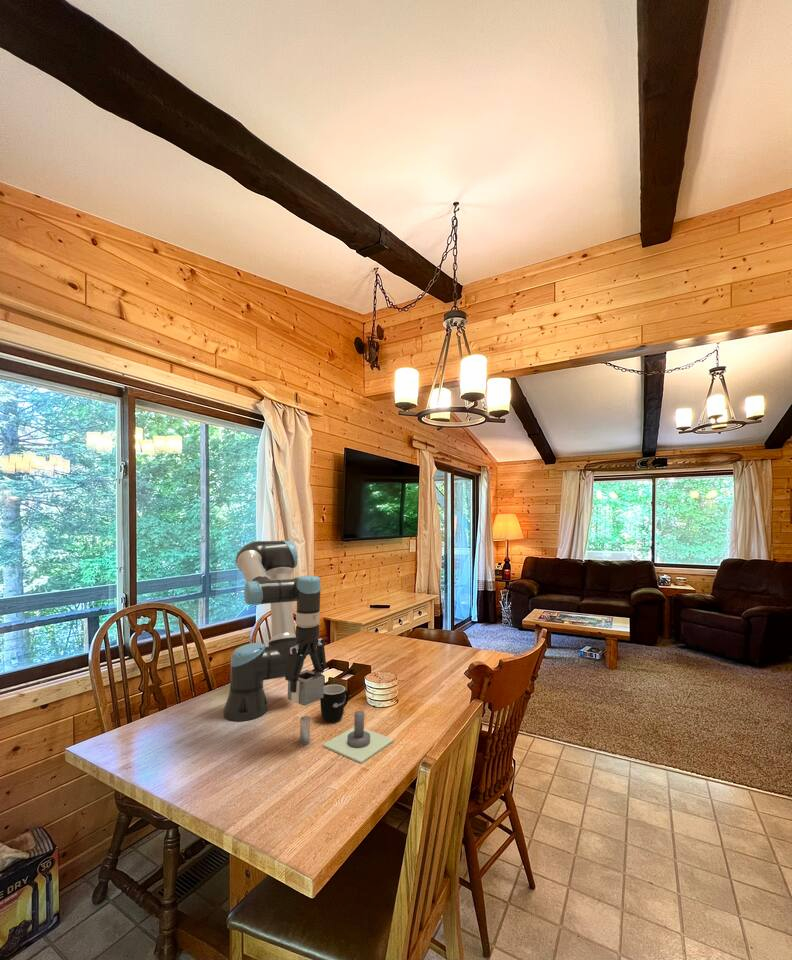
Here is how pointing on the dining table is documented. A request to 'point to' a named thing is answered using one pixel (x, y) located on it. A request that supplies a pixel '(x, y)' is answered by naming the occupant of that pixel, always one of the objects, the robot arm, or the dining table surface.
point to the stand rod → (305, 730)
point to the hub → (358, 741)
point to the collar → (309, 687)
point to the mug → (333, 702)
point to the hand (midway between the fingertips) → (305, 697)
